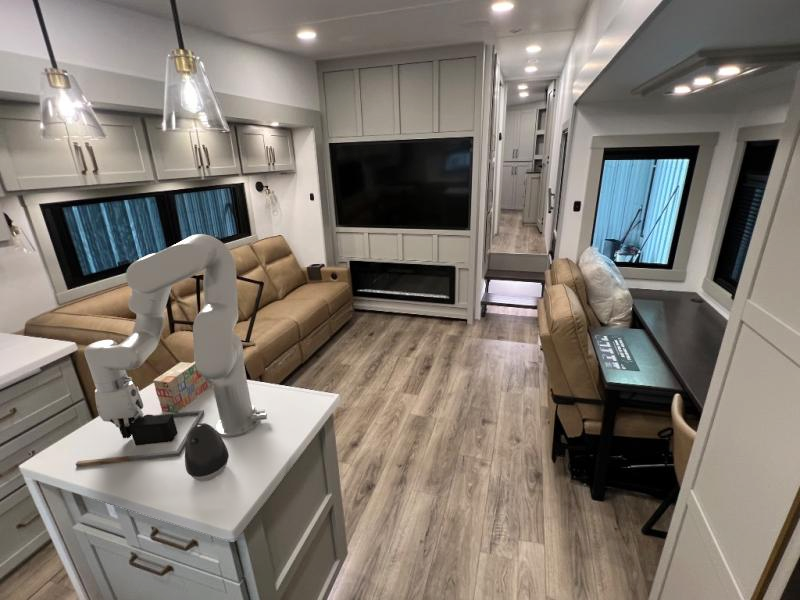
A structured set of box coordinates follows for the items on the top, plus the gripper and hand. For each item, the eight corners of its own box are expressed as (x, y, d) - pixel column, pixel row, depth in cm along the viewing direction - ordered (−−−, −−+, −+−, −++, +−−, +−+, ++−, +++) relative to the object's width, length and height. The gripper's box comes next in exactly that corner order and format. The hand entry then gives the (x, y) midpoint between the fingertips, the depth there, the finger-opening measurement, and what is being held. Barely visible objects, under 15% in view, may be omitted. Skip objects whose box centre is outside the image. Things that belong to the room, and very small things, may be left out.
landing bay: (204, 413, 127) (204, 410, 126) (179, 456, 108) (178, 452, 107) (163, 417, 125) (162, 414, 125) (130, 461, 106) (129, 457, 106)
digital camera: (180, 430, 119) (174, 411, 116) (172, 441, 114) (166, 422, 111) (144, 433, 118) (138, 414, 115) (135, 445, 113) (129, 426, 110)
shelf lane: (163, 417, 125) (162, 414, 125) (130, 461, 106) (129, 457, 106) (117, 421, 124) (116, 418, 123) (76, 467, 105) (75, 463, 105)
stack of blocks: (205, 378, 148) (198, 350, 144) (219, 379, 147) (212, 351, 143) (161, 411, 129) (152, 379, 124) (177, 413, 127) (168, 381, 123)
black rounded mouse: (181, 490, 96) (167, 441, 91) (198, 460, 106) (186, 414, 101) (223, 486, 97) (211, 438, 92) (236, 457, 107) (226, 411, 102)
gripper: (146, 373, 113) (160, 424, 119) (92, 377, 111) (109, 429, 117) (133, 387, 106) (149, 441, 112) (74, 392, 104) (94, 446, 110)
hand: (128, 435), depth 115 cm, fingers closed
